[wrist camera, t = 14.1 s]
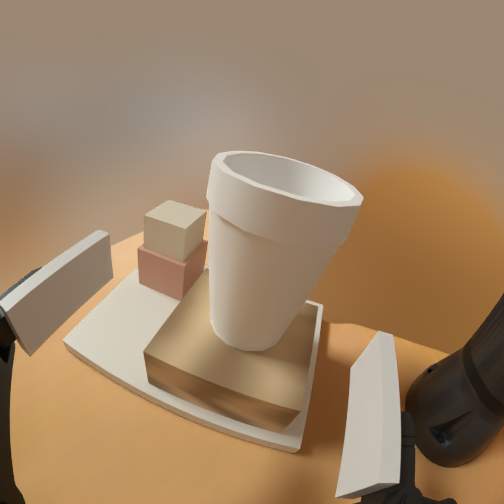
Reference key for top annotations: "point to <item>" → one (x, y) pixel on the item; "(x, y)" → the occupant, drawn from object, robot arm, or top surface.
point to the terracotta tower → (172, 249)
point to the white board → (133, 365)
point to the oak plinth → (231, 365)
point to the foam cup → (270, 241)
